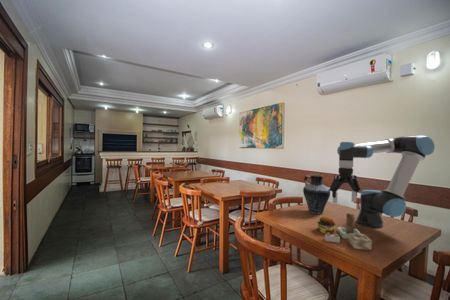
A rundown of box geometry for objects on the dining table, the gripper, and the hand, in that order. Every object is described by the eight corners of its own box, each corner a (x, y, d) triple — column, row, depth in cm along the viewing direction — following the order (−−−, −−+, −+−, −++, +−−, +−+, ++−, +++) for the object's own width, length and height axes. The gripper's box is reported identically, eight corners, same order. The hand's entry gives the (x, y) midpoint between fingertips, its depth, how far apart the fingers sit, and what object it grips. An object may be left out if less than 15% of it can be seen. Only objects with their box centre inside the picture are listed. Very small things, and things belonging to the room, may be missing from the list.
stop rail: (338, 241, 121) (338, 233, 121) (339, 242, 119) (339, 235, 119) (325, 239, 122) (325, 232, 122) (325, 240, 120) (326, 233, 120)
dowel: (352, 233, 130) (353, 213, 130) (354, 236, 126) (355, 215, 126) (344, 232, 131) (345, 213, 130) (347, 235, 127) (347, 215, 127)
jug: (333, 213, 170) (335, 175, 170) (323, 218, 157) (324, 177, 156) (308, 207, 186) (309, 172, 185) (296, 211, 172) (297, 173, 171)
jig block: (365, 243, 119) (365, 234, 118) (371, 250, 111) (371, 241, 111) (349, 241, 120) (349, 232, 120) (353, 248, 113) (354, 239, 112)
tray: (356, 233, 132) (356, 229, 132) (363, 240, 122) (363, 236, 122) (337, 231, 135) (337, 227, 135) (342, 238, 125) (342, 233, 124)
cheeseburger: (313, 231, 134) (315, 214, 135) (320, 230, 141) (322, 215, 143) (330, 236, 127) (332, 218, 128) (336, 235, 134) (338, 219, 135)
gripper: (357, 166, 138) (356, 200, 138) (323, 166, 132) (322, 201, 132) (368, 168, 130) (366, 203, 131) (332, 168, 124) (331, 205, 125)
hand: (344, 202), depth 132 cm, fingers open, 13 cm apart
